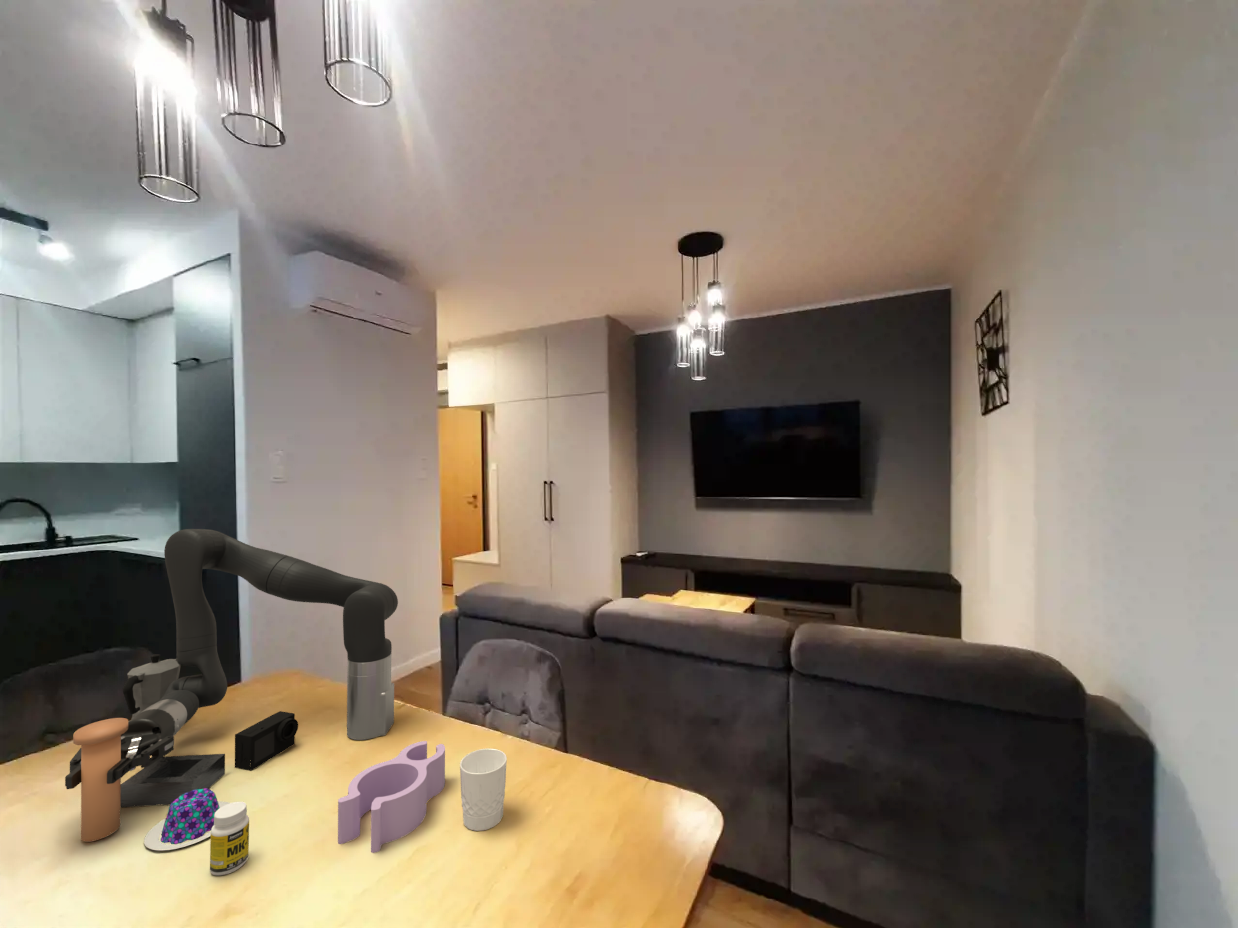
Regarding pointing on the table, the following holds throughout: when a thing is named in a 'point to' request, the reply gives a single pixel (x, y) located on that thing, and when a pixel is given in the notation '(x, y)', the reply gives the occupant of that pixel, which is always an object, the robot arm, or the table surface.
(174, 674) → the coffeepot
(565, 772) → the table surface
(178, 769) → the frame
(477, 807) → the white cup
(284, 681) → the table surface
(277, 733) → the digital camera
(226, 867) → the supplement bottle
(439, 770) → the clip
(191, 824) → the pudding
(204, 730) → the table surface
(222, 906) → the table surface
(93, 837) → the orange capped cylinder
